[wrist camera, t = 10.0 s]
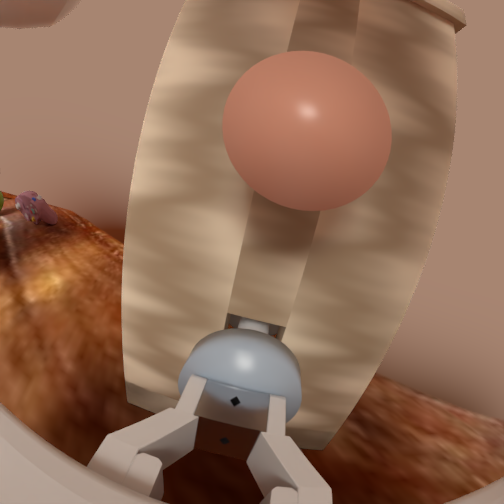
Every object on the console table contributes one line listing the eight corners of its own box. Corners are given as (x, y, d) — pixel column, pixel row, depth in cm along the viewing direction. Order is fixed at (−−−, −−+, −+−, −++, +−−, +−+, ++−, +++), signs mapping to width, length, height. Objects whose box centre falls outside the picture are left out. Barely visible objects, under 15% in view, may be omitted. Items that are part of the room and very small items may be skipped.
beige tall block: (116, 403, 13) (200, -55, 6) (156, 348, 19) (225, 4, 12) (331, 456, 12) (463, 10, 5) (322, 389, 18) (416, 51, 11)
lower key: (170, 417, 8) (176, 325, 7) (220, 312, 17) (233, 247, 16) (284, 444, 8) (329, 362, 7) (286, 328, 17) (306, 265, 16)
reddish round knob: (196, 195, 6) (237, 32, 5) (246, 186, 15) (263, 113, 14) (375, 240, 6) (408, 76, 5) (323, 205, 15) (340, 131, 14)
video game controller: (20, 225, 37) (8, 195, 33) (35, 212, 41) (25, 182, 36) (44, 236, 36) (31, 203, 31) (60, 221, 39) (50, 188, 35)
